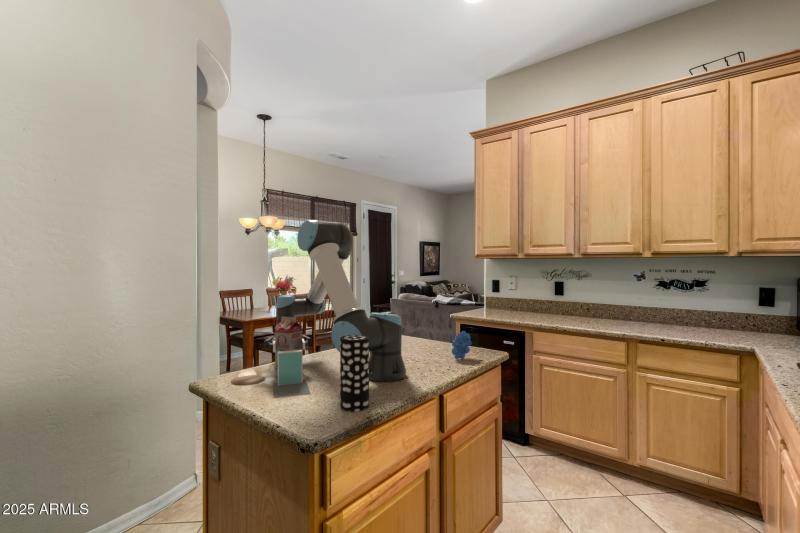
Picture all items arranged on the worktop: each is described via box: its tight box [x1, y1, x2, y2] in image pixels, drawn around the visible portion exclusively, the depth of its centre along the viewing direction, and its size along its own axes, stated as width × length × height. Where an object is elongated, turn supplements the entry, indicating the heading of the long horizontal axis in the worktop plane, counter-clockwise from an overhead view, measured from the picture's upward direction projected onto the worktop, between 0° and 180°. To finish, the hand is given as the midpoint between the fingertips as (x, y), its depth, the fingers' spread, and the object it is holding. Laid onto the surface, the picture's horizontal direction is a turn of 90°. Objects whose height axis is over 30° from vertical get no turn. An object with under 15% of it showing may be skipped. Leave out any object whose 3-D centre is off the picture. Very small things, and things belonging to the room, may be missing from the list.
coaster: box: [230, 374, 266, 386], centre depth 134 cm, size 11×11×1 cm
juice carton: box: [274, 317, 303, 379], centre depth 139 cm, size 7×7×22 cm
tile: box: [277, 349, 303, 386], centre depth 130 cm, size 2×8×11 cm, turn 109°
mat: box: [272, 379, 311, 399], centre depth 125 cm, size 15×11×1 cm
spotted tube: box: [339, 335, 370, 413], centre depth 111 cm, size 8×8×20 cm
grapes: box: [451, 330, 472, 360], centre depth 168 cm, size 12×7×12 cm, turn 128°
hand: (289, 347), depth 135 cm, fingers closed on juice carton, 9 cm apart
